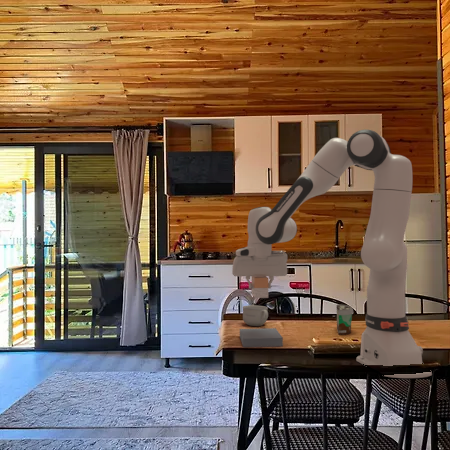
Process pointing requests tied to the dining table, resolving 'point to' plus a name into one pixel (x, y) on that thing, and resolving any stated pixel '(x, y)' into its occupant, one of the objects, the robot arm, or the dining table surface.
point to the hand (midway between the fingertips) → (259, 288)
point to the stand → (261, 337)
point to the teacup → (255, 315)
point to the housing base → (260, 292)
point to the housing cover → (260, 281)
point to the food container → (344, 319)
